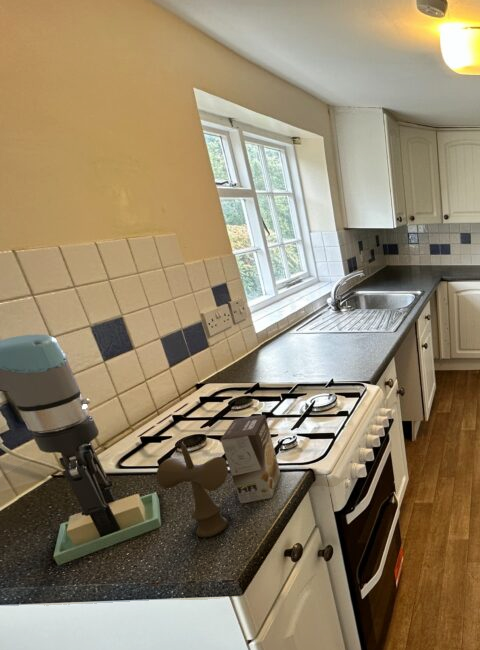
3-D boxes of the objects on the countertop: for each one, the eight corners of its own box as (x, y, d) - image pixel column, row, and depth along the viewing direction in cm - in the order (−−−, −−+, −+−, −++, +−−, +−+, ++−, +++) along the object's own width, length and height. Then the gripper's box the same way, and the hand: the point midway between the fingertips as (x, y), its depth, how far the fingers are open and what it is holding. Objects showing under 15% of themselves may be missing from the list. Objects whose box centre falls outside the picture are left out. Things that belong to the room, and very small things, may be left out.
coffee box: (273, 498, 89) (255, 435, 83) (239, 504, 87) (219, 440, 81) (281, 473, 97) (265, 414, 91) (251, 478, 95) (232, 418, 89)
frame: (58, 565, 73) (53, 556, 72) (65, 532, 80) (60, 523, 79) (161, 526, 81) (157, 518, 81) (158, 499, 89) (155, 491, 88)
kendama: (227, 542, 78) (196, 453, 70) (177, 541, 78) (141, 452, 70) (246, 519, 83) (220, 435, 76) (200, 518, 84) (169, 434, 76)
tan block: (75, 547, 76) (66, 531, 74) (78, 532, 79) (69, 516, 78) (145, 522, 82) (138, 506, 80) (145, 508, 85) (138, 493, 84)
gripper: (87, 436, 67) (137, 543, 76) (94, 398, 80) (136, 494, 89) (20, 453, 63) (81, 565, 72) (39, 410, 76) (89, 510, 85)
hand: (111, 525), depth 80 cm, fingers closed on tan block, 5 cm apart
